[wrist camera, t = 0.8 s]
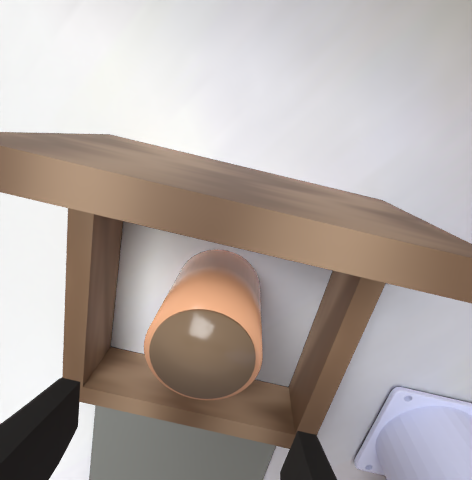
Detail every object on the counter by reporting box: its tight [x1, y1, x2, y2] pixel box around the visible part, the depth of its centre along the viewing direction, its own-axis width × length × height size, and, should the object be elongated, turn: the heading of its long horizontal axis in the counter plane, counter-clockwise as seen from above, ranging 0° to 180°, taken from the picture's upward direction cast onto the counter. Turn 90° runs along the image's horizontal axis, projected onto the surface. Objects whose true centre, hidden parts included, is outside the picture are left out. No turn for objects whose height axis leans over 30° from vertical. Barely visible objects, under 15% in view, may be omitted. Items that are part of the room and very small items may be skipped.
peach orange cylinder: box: [144, 250, 263, 400], centre depth 16 cm, size 5×5×6 cm
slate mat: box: [89, 405, 276, 480], centre depth 24 cm, size 14×12×1 cm
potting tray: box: [0, 132, 472, 449], centre depth 14 cm, size 15×15×9 cm
